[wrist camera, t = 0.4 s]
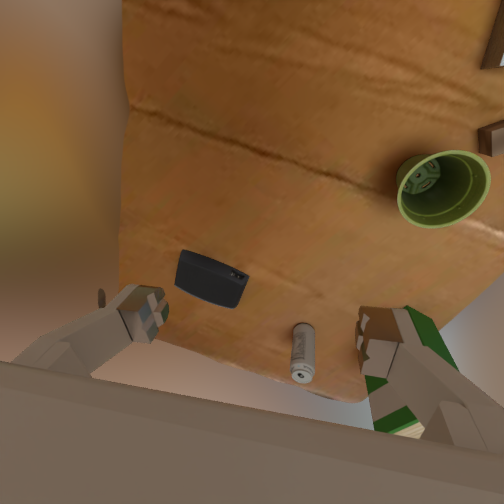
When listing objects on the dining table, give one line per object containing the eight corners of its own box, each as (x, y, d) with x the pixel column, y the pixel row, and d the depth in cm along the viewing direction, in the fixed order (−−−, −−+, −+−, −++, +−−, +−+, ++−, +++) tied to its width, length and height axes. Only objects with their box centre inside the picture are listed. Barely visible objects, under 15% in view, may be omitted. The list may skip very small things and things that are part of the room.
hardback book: (381, 354, 73) (406, 453, 52) (359, 342, 72) (375, 437, 52) (432, 319, 63) (486, 423, 43) (407, 305, 62) (450, 403, 42)
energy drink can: (301, 339, 76) (298, 387, 63) (289, 326, 74) (284, 372, 62) (319, 332, 73) (319, 381, 61) (306, 319, 71) (305, 366, 59)
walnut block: (477, 128, 42) (491, 131, 39) (508, 118, 41) (525, 120, 38) (478, 152, 44) (492, 157, 41) (508, 143, 42) (524, 146, 39)
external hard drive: (237, 305, 75) (233, 315, 72) (176, 280, 75) (169, 289, 72) (251, 273, 68) (247, 282, 65) (183, 246, 68) (176, 253, 65)
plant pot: (470, 149, 44) (512, 164, 35) (429, 211, 50) (455, 237, 41) (403, 130, 45) (426, 139, 35) (370, 194, 51) (383, 216, 42)
